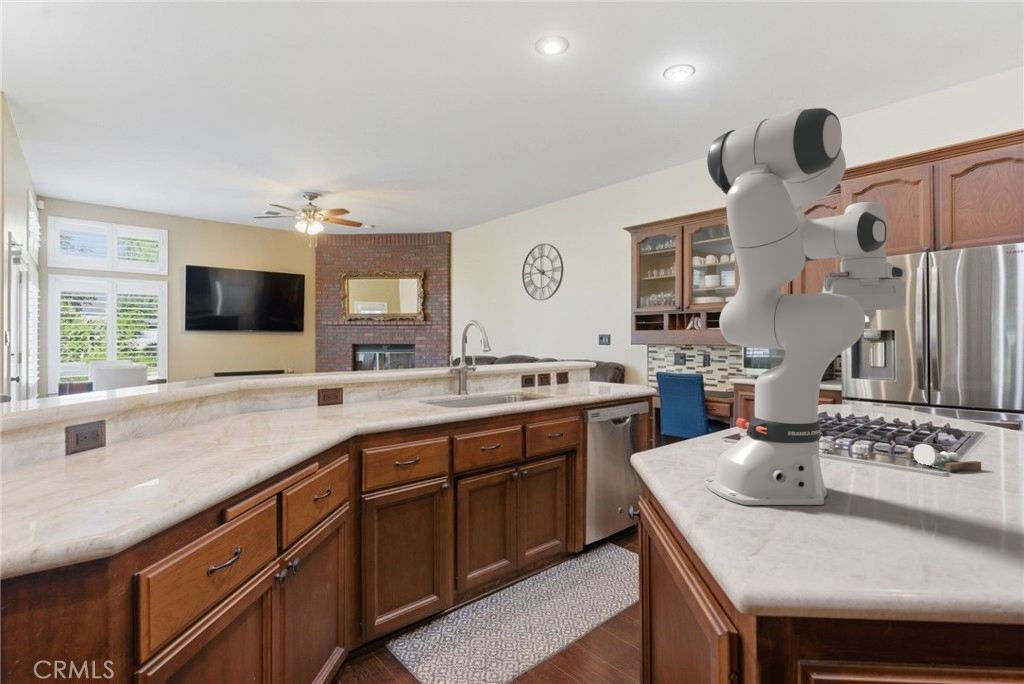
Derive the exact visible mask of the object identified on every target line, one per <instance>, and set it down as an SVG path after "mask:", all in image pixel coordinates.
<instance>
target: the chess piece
mask: <svg viewBox="0 0 1024 684" xmlns="http://www.w3.org/2000/svg"><path fill="white" fill-rule="evenodd" d="M935 450H936V449H935V448H934V447H933V446H931V445H929V444H926V443H920V444H918V445H916V446H915V447H914V449H913V452H914V458H915V460H916V461H917V462H918V463H917V464H919V463H921V464H926V465H929V466H928V467H930V465H933V464H935V462H936V461H937V459H939V458H941V459H942V460H943V461H947V460H951V461H959V462H961V459H962V458H963V457H962V456H961V455H960V454H959V453H958V452H955V451H953V452H952V451H951V452H947V451H940V452H939V453H936V451H935Z"/></svg>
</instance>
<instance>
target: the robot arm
mask: <svg viewBox="0 0 1024 684" xmlns="http://www.w3.org/2000/svg"><path fill="white" fill-rule="evenodd" d="M841 126H842V125H841V123H840V120H839V117H838V116H837V115H836V113H834V112H833V111H831V110H829V109H827V108H823V107H817V108H815V107H814V108H799V109H798V108H797V109H793V110H790V111H789V112H786V113H784V114H783V115H780V116H776V117H771V118H765V119H762V120H759V121H755V122H753V123H750V124H747V125H745V126H743V127H740V128H738V129H732V130H729V131H727V132H725V133H723V134H721V135H720V136H718V137H717V138H716V139H714V141H712V144H711V146H710V148H709V151H708V154H707V160H706V162H707V163H706V165H707V169H708V172H709V176H710V177H711V180H712V181H713V182H714V184H715V185H716V186H717V187H718V188H719V189H720V190H721V191H722V192H723V194H725V196H726V198H725V207H726V217H727V218H726V220H727V226H728V231H729V235H730V236H729V237H730V240H731V243H732V247H733V250H734V254H735V260H736V264H737V267H738V275H739V276H738V277H739V282H738V283H739V284H738V288H737V292H736V294H735V295H734V296H733V298H732V299H730V300H729V301H728V302H727V303H726V304H725V305H724V306H723V308H722V310H721V313H720V314H719V315H720V316H719V321H718V322H719V331H720V332H721V335H722V336H723V338H724V339H725V341H726V342H727V343H729V344H732V345H734V346H739V347H743V348H749V349H756V350H757V349H759V350H760V349H762V350H784V351H785V352H784V353H785V354H784V357H783V360H782V362H781V363H780V364H779V365H777V366H774V367H771V368H768V369H767V370H765V371H763V372H762V373H761V374H759V375H758V377H757V379H756V380H755V383H754V414H753V416H752V417H751V420H750V421H749V420H748V419H745V418H741V417H739V418H737V420H736V421H735V426H736V428H739V429H742V430H746V432H745V433H746V434H745V435H744V436H743V437H742V438H741V439H739V440H738V441H736V442H735V443H734V444H733V445H731V446H730V447H729V448H728V449H726V450H725V451H723V452H722V453H720V455H719V457H718V459H717V462H716V469H715V474H714V475H708V476H705V477H704V480H703V484H704V486H705V487H706V488H707V489H708V490H710V491H711V492H712V493H714V494H716V495H718V496H720V497H721V498H724V499H726V500H729V501H730V502H733V503H737V504H740V505H745V506H762V505H763V506H769V505H770V506H772V505H773V506H783V505H784V506H785V505H787V506H792V505H793V506H796V505H797V506H799V505H800V506H801V505H802V506H803V505H805V506H811V505H812V506H814V505H815V506H819V505H820V506H821V505H824V504H825V497H826V496H827V495H828V492H827V489H826V486H825V482H824V479H823V474H822V466H821V460H820V452H819V450H820V449H819V442H820V440H821V421H820V420H819V419H818V418H819V400H820V399H819V398H820V397H819V396H820V388H821V382H822V379H823V376H824V374H825V372H826V370H827V369H828V367H829V366H830V364H831V363H832V361H834V360H835V359H836V358H837V357H838V356H839V355H840V354H842V353H843V352H844V351H846V350H847V349H849V348H851V347H853V346H854V345H855V344H856V343H857V342H858V341H859V340H860V338H861V336H863V333H864V331H865V330H870V329H871V328H872V321H873V320H874V318H875V317H876V315H877V313H876V311H883V310H884V311H887V310H888V311H890V310H891V311H893V310H902V309H903V308H904V307H905V305H906V302H907V297H906V296H907V291H906V290H907V287H906V286H907V285H906V282H905V281H904V278H906V276H907V275H906V273H907V272H906V271H907V270H905V269H904V268H902V267H899V266H896V265H895V264H892V263H890V262H888V261H887V258H888V257H887V253H886V249H885V247H886V243H887V240H888V226H887V225H888V224H887V216H886V211H885V207H884V205H883V204H882V203H880V202H878V201H872V200H871V201H869V200H865V201H864V200H863V201H858V202H854V203H851V204H849V205H848V206H846V208H845V210H844V213H843V214H840V215H839V214H838V215H833V216H825V217H820V218H807V217H806V215H805V212H804V207H805V206H807V205H809V204H812V203H814V202H816V201H819V200H821V199H823V198H824V197H826V196H827V195H828V194H830V193H831V192H833V190H834V189H835V188H836V187H837V186H838V185H839V183H840V182H841V181H842V179H843V177H844V175H845V172H846V166H847V164H846V157H845V153H844V151H843V149H842V142H843V141H842V140H843V139H842V138H843V133H842V127H841ZM833 258H841V260H840V263H841V264H840V265H841V266H840V272H837V271H836V272H835V271H833V272H829V274H827V275H825V277H824V278H823V287H822V291H821V292H814V293H812V292H811V293H791V294H790V293H789V294H787V293H782V291H781V289H780V288H781V287H784V286H785V285H786V284H788V283H790V282H792V281H794V279H796V278H797V277H798V276H799V275H800V274H801V273H802V271H803V270H804V268H805V265H806V262H812V261H818V260H824V259H833Z"/></svg>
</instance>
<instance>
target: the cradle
mask: <svg viewBox="0 0 1024 684" xmlns="http://www.w3.org/2000/svg"><path fill="white" fill-rule="evenodd" d="M935 451H936V453H940V451H939V450H937V449H935ZM906 457H907V458H910V459H913V460H915V458H914V451H906V456H905V458H906ZM933 465H934V466H938V467H941V468H943V469H946V470H947V471H948V472H947V471H946V472H947V473H960V472H961V473H963V472H978V471H982V461H978V460H971V461H957V460H956V461H951V460H947V461H941V462H940V461H939V462H937V461H936V462H935V464H933Z"/></svg>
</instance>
